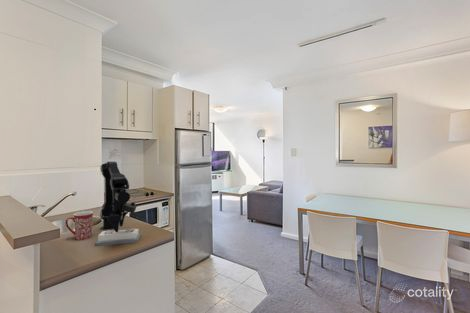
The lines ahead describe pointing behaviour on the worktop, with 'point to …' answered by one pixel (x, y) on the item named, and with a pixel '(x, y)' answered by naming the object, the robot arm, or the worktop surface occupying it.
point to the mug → (81, 224)
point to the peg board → (99, 243)
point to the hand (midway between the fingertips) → (119, 229)
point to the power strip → (118, 235)
